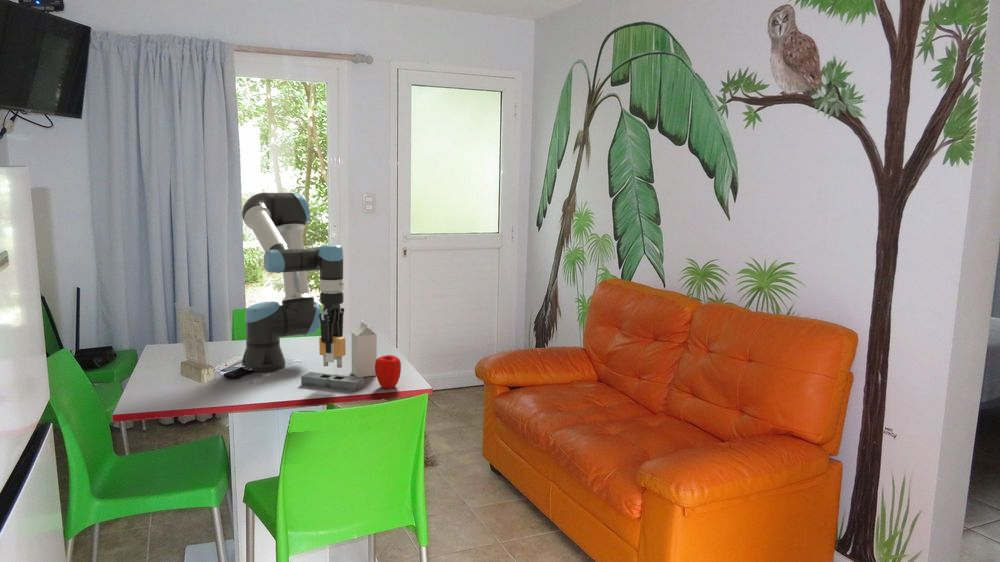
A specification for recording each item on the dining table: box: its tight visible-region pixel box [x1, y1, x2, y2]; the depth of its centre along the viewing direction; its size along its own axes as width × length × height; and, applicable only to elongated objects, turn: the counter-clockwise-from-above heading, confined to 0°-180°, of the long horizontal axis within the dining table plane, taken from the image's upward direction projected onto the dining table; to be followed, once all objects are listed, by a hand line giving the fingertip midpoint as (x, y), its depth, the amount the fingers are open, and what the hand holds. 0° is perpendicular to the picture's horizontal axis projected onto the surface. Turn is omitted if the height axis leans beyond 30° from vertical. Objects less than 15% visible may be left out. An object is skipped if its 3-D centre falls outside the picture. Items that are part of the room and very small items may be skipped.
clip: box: [318, 336, 347, 369], centre depth 238 cm, size 8×3×10 cm, turn 75°
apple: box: [375, 354, 402, 389], centre depth 239 cm, size 9×9×11 cm
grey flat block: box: [300, 371, 365, 392], centre depth 240 cm, size 20×6×3 cm, turn 75°
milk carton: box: [351, 320, 378, 378], centre depth 253 cm, size 7×7×19 cm
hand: (332, 360), depth 238 cm, fingers closed on clip, 3 cm apart
